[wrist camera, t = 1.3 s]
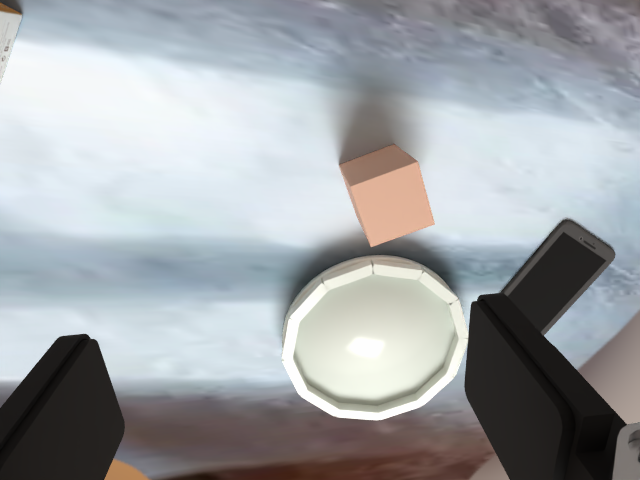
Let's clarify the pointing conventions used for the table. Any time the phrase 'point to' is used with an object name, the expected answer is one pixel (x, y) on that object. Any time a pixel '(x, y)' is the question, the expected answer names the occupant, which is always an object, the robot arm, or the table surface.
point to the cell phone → (558, 274)
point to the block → (387, 194)
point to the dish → (373, 337)
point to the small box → (7, 34)
